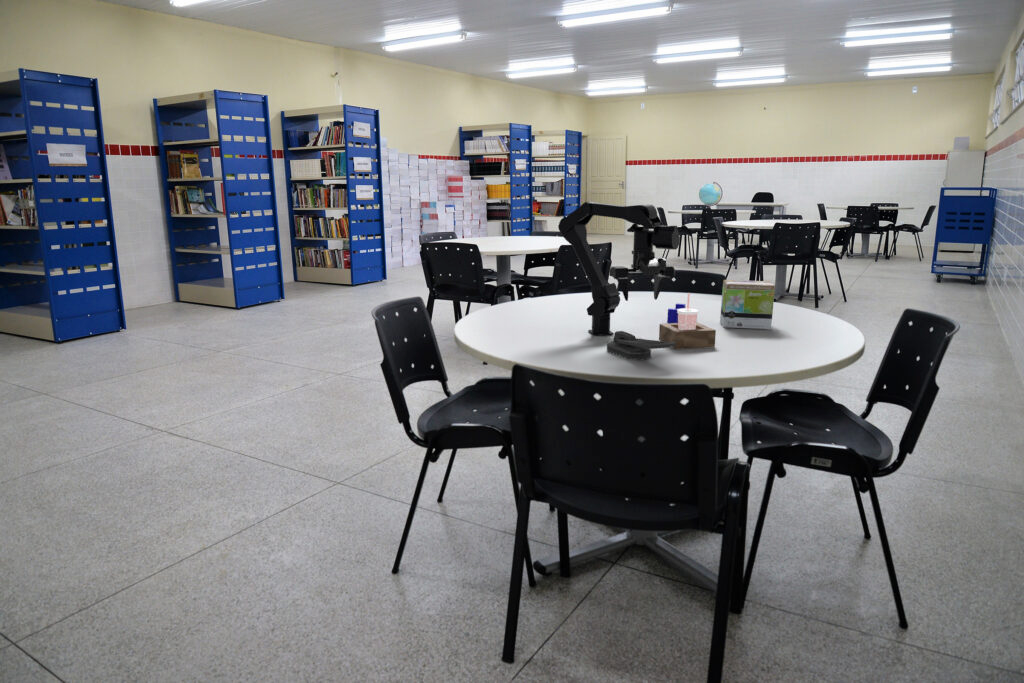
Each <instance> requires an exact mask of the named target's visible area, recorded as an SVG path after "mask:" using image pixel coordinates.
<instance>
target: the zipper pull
mask: <svg viewBox="0 0 1024 683" xmlns="http://www.w3.org/2000/svg"><path fill="white" fill-rule="evenodd" d="M675 346H676V343H675V342H665V341H660V340H654V339H652V340H651V339H643V338H636V335H634V334H631V333H629V332H627V331H623V330H617V331H615V332H614V334H613V340H612V341H607V342H606V350H607V352H608V353H610V352H611V354H613V353H614V354H613V355H616V354H617V355H616V356H618V355H620V356H619V357H621V356H622V357H621V358H624V357H625V359H626V358H627V360H629V359H636V360H635V361H642V360H641V359H644V360H647V358H648V359H650V357H651V358H652V350H655V349H656V350H657V349H667V348H673V347H675Z"/></svg>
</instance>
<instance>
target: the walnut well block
mask: <svg viewBox="0 0 1024 683" xmlns="http://www.w3.org/2000/svg"><path fill="white" fill-rule="evenodd" d="M658 329H659V330H658V332H659V333H658V341H665V342H675V343H676V346H675V347H672V348H673V349H674V350H686V349H703V348H704V349H706V348H715V347H716V334H717V330H716V329H714V328H712V327H709V326H707V325H704V324H703V323H700V322H698V321H696V329H694V330H679V329H678V323H667V322H666V323H659V328H658Z"/></svg>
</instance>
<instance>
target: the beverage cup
mask: <svg viewBox="0 0 1024 683" xmlns="http://www.w3.org/2000/svg"><path fill="white" fill-rule="evenodd" d="M677 313H678V329H679V330H694V329H696V322H698V321H697V320H698V314H699V310H698V309H696V308H690V292H688V293H687V303H686V307H685V308H682V309H677Z"/></svg>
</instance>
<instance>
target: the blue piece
mask: <svg viewBox="0 0 1024 683" xmlns="http://www.w3.org/2000/svg"><path fill="white" fill-rule="evenodd" d="M682 308H686V303H675V307H674V308H671V307H670V308H667V318H666V319H667V321H666V324H667V323H678V313H677V309H682Z"/></svg>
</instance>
